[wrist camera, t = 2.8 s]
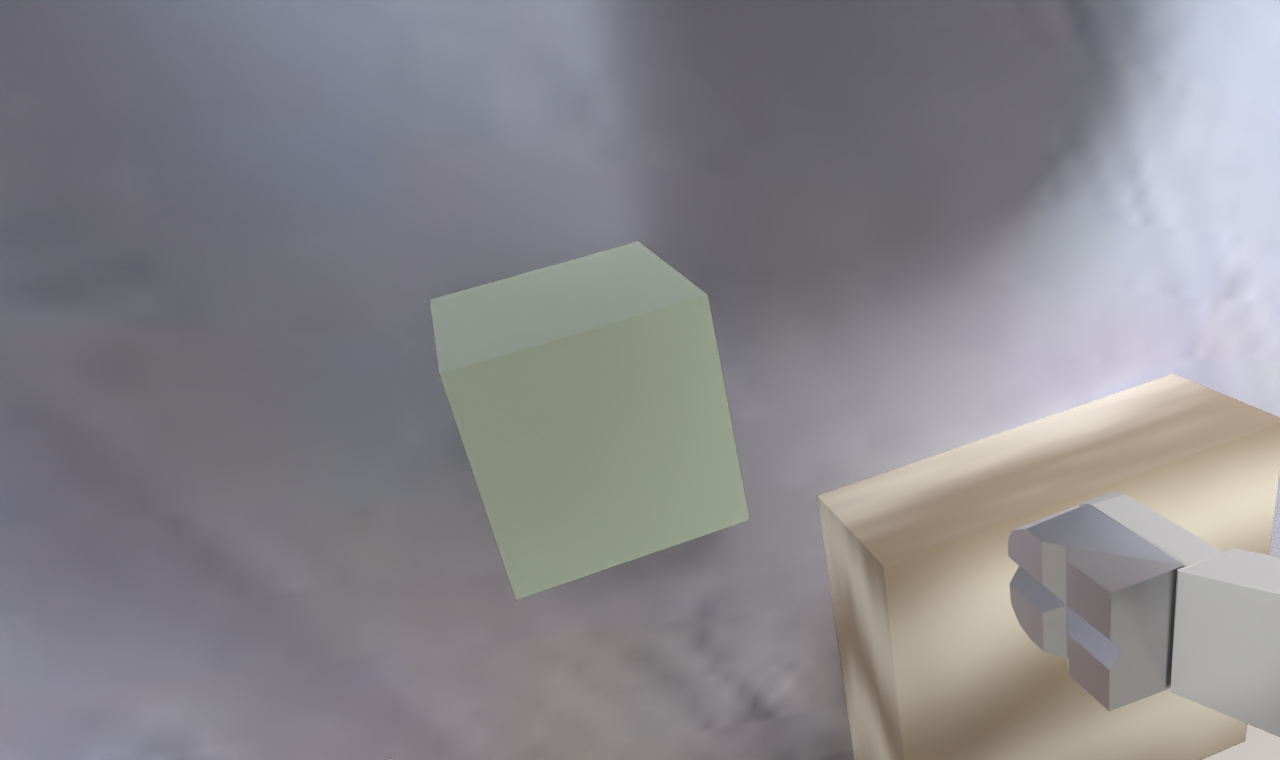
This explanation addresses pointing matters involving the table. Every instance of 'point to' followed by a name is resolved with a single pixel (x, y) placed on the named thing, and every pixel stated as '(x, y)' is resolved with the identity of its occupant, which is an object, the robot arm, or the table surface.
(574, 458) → the sage cube
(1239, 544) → the ash block
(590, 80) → the table surface
